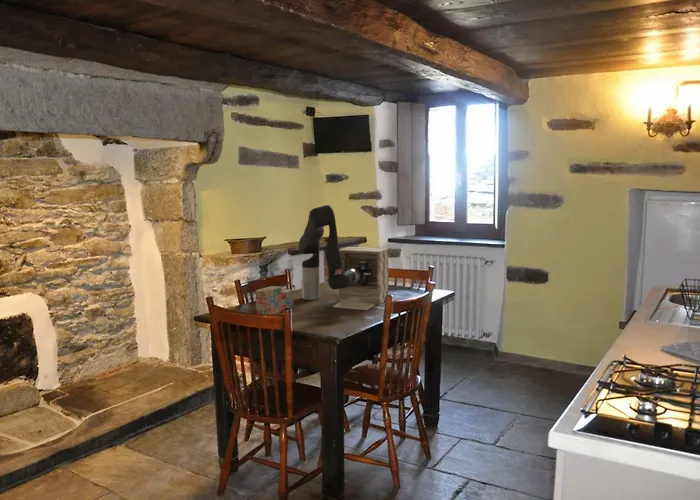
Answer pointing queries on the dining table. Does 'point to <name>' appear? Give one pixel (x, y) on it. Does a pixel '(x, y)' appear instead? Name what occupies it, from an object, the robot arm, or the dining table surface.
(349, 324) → the dining table surface
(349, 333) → the dining table surface
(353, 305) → the tile
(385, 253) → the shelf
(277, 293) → the stack of blocks
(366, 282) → the tin
